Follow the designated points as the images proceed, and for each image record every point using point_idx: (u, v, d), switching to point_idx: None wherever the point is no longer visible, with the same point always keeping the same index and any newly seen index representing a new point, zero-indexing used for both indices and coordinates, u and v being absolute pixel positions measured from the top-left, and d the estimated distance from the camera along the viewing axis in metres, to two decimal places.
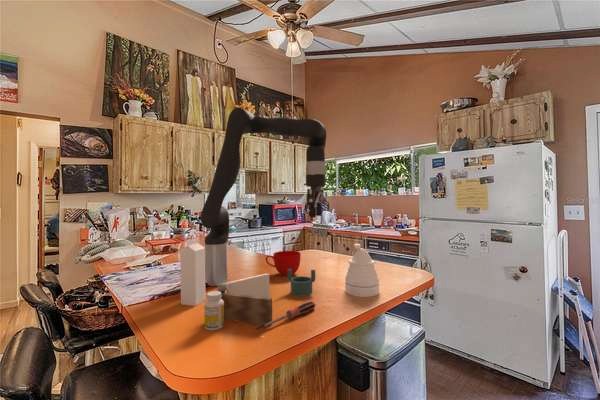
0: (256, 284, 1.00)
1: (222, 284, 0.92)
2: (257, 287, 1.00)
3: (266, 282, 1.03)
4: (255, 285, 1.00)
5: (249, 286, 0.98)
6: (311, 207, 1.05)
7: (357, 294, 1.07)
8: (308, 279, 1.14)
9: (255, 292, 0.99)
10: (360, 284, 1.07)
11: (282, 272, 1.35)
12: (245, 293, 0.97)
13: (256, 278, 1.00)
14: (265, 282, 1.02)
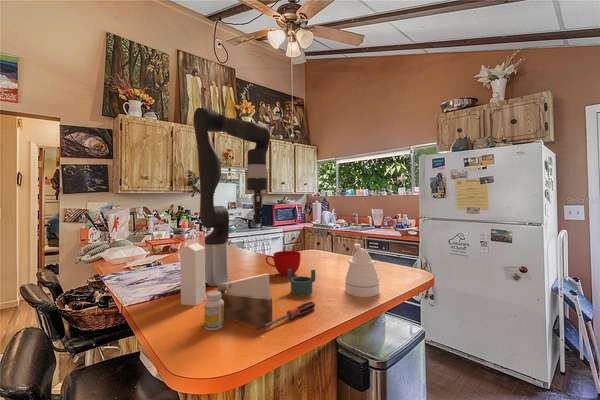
0: (256, 284, 1.00)
1: (222, 284, 0.92)
2: (257, 287, 1.00)
3: (266, 282, 1.03)
4: (255, 285, 1.00)
5: (249, 286, 0.98)
6: (257, 214, 1.06)
7: (357, 294, 1.07)
8: (308, 279, 1.14)
9: (255, 292, 0.99)
10: (360, 284, 1.07)
11: (282, 272, 1.35)
12: (245, 293, 0.97)
13: (256, 278, 1.00)
14: (265, 282, 1.02)
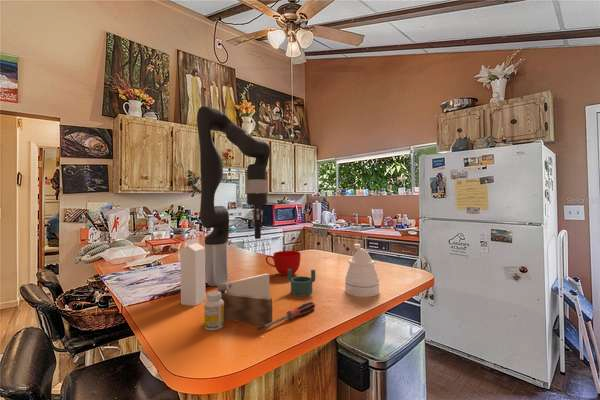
0: (256, 284, 1.00)
1: (222, 284, 0.92)
2: (257, 287, 1.00)
3: (266, 282, 1.03)
4: (255, 285, 1.00)
5: (249, 286, 0.98)
6: (257, 229, 1.08)
7: (357, 294, 1.07)
8: (308, 279, 1.14)
9: (255, 292, 0.99)
10: (360, 284, 1.07)
11: (282, 272, 1.35)
12: (245, 293, 0.97)
13: (256, 278, 1.00)
14: (265, 282, 1.02)
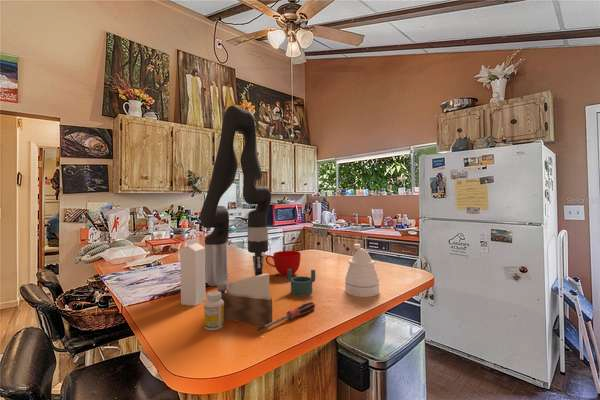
0: (256, 284, 1.00)
1: (222, 284, 0.92)
2: (257, 287, 1.00)
3: (266, 282, 1.03)
4: (255, 285, 1.00)
5: (249, 286, 0.98)
6: None
7: (357, 294, 1.07)
8: (308, 279, 1.14)
9: (255, 292, 0.99)
10: (360, 284, 1.07)
11: (282, 272, 1.35)
12: (245, 293, 0.97)
13: (256, 278, 1.00)
14: (265, 282, 1.02)
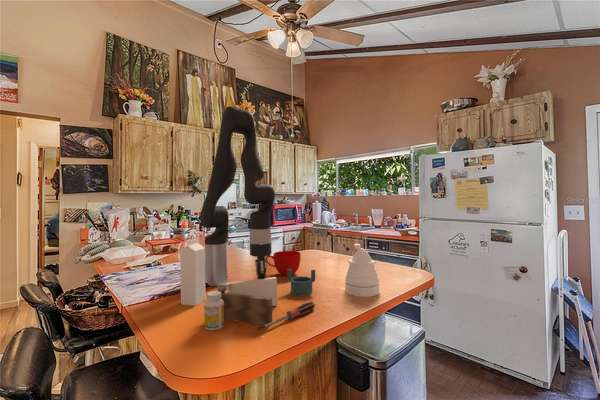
0: (261, 288, 0.96)
1: (222, 284, 0.92)
2: (262, 290, 0.96)
3: (273, 286, 0.98)
4: (260, 288, 0.96)
5: (252, 289, 0.95)
6: None
7: (357, 294, 1.07)
8: (308, 279, 1.14)
9: (259, 296, 0.96)
10: (360, 284, 1.07)
11: (282, 272, 1.35)
12: None
13: (261, 281, 0.96)
14: (272, 286, 0.98)
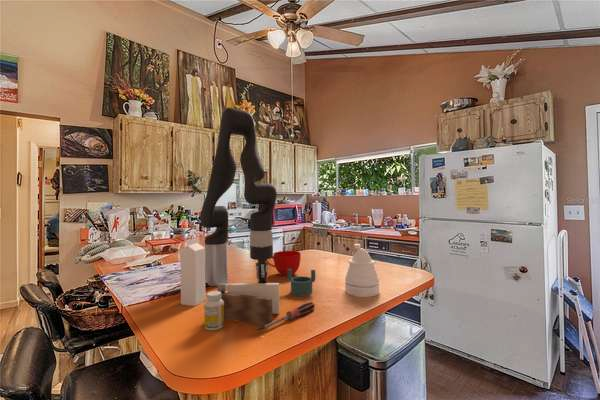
0: (261, 293, 0.91)
1: (221, 284, 0.92)
2: (262, 296, 0.91)
3: (274, 293, 0.91)
4: (260, 293, 0.91)
5: (252, 293, 0.91)
6: None
7: (357, 294, 1.07)
8: (308, 279, 1.14)
9: None
10: (360, 284, 1.07)
11: (282, 272, 1.35)
12: None
13: (261, 286, 0.91)
14: (274, 293, 0.91)
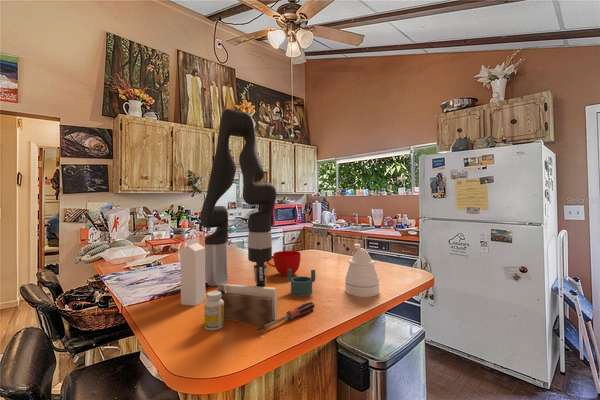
0: None
1: (221, 284, 0.92)
2: None
3: None
4: None
5: (249, 295, 0.88)
6: None
7: (357, 294, 1.07)
8: (308, 279, 1.14)
9: None
10: (360, 284, 1.07)
11: (282, 272, 1.35)
12: None
13: (257, 289, 0.88)
14: None
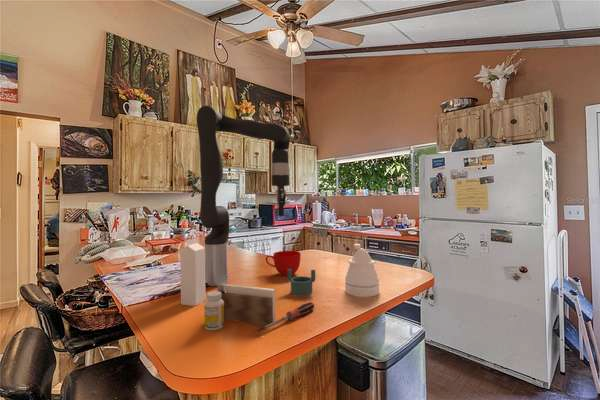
0: None
1: (221, 284, 0.92)
2: None
3: None
4: None
5: None
6: None
7: (357, 294, 1.07)
8: (308, 279, 1.14)
9: None
10: (360, 284, 1.07)
11: (282, 272, 1.35)
12: None
13: (256, 290, 0.87)
14: None
